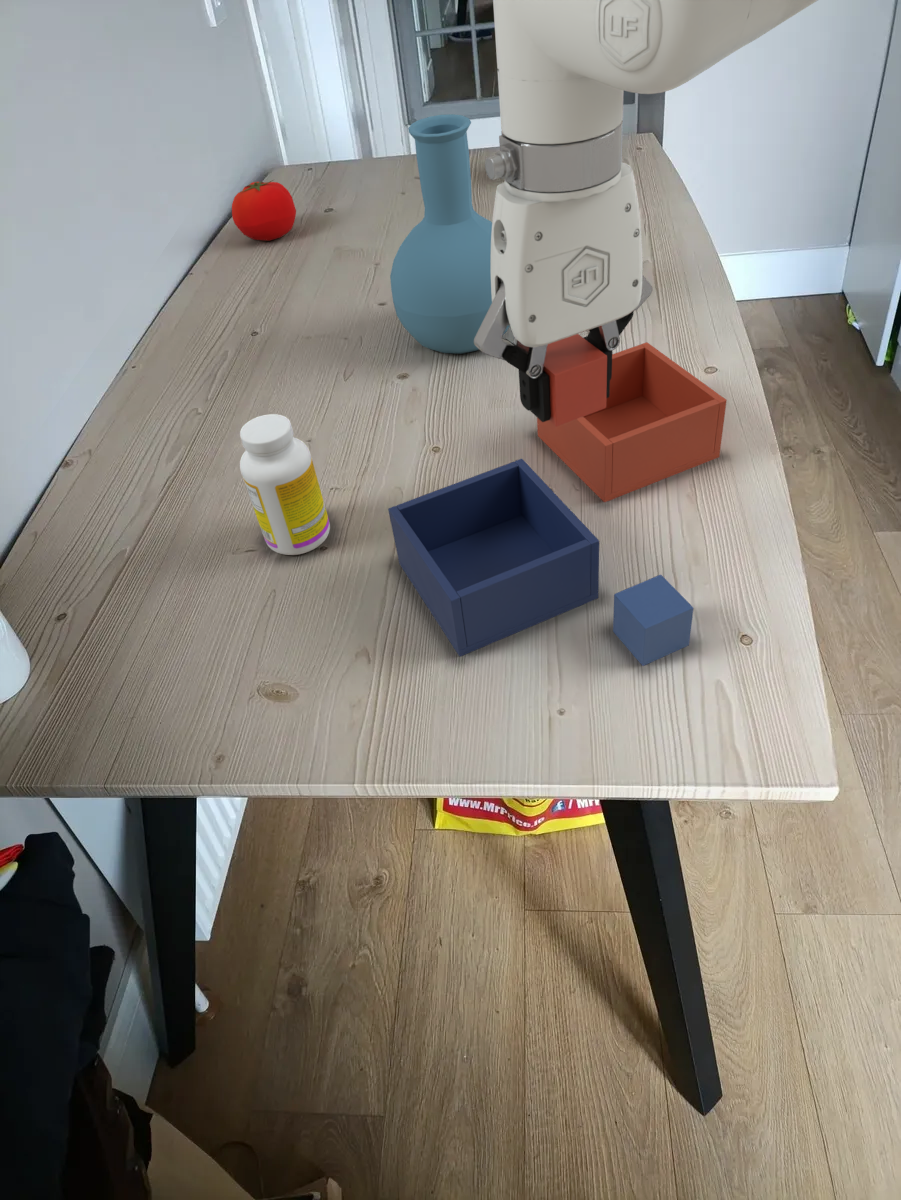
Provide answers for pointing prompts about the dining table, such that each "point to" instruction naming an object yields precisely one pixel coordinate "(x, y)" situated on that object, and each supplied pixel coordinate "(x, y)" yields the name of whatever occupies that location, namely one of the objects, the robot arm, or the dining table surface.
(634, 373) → the red bin
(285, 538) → the supplement bottle
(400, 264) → the vase
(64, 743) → the dining table surface
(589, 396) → the red block
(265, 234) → the tomato
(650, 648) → the blue block
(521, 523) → the blue bin
